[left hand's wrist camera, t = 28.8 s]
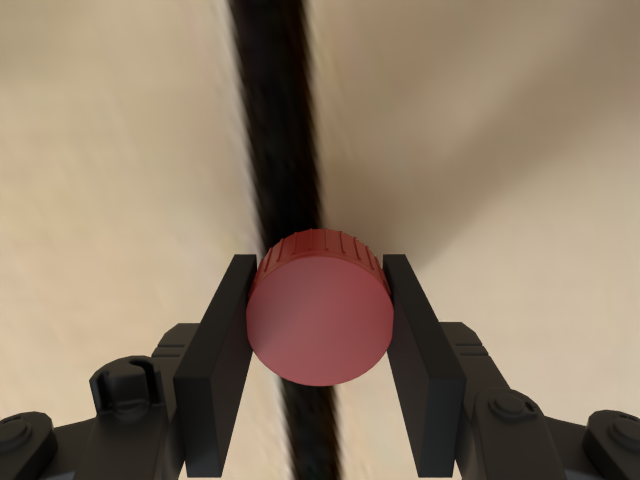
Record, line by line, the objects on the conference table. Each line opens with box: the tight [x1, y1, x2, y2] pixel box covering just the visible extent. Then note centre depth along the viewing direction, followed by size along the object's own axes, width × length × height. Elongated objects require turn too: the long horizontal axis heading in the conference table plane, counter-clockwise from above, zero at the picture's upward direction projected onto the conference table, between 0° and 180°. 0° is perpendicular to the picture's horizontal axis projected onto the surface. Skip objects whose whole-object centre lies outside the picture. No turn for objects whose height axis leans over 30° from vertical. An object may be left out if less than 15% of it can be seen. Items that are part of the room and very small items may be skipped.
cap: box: [246, 228, 394, 386], centre depth 14 cm, size 5×5×2 cm
